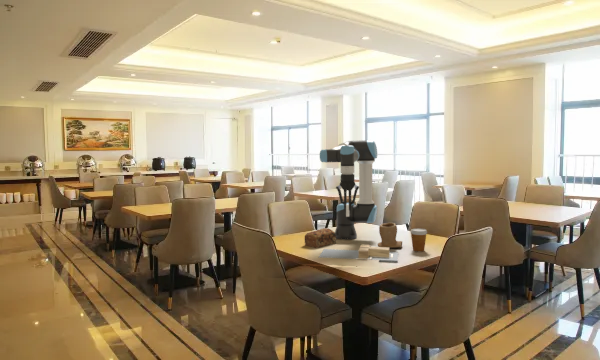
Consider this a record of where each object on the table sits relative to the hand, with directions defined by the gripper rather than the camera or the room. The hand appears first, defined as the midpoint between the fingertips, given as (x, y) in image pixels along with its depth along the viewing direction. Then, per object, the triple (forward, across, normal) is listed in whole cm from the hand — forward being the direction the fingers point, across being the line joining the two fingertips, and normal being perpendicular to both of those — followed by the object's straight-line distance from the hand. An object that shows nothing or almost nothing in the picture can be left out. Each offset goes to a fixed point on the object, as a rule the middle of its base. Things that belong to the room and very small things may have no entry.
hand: (347, 216), depth 239 cm
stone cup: (+23, +23, +24) cm, 40 cm away
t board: (+22, +6, 0) cm, 23 cm away
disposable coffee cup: (+23, +39, +20) cm, 49 cm away
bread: (+23, -19, +22) cm, 37 cm away
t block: (+21, +15, 0) cm, 26 cm away
